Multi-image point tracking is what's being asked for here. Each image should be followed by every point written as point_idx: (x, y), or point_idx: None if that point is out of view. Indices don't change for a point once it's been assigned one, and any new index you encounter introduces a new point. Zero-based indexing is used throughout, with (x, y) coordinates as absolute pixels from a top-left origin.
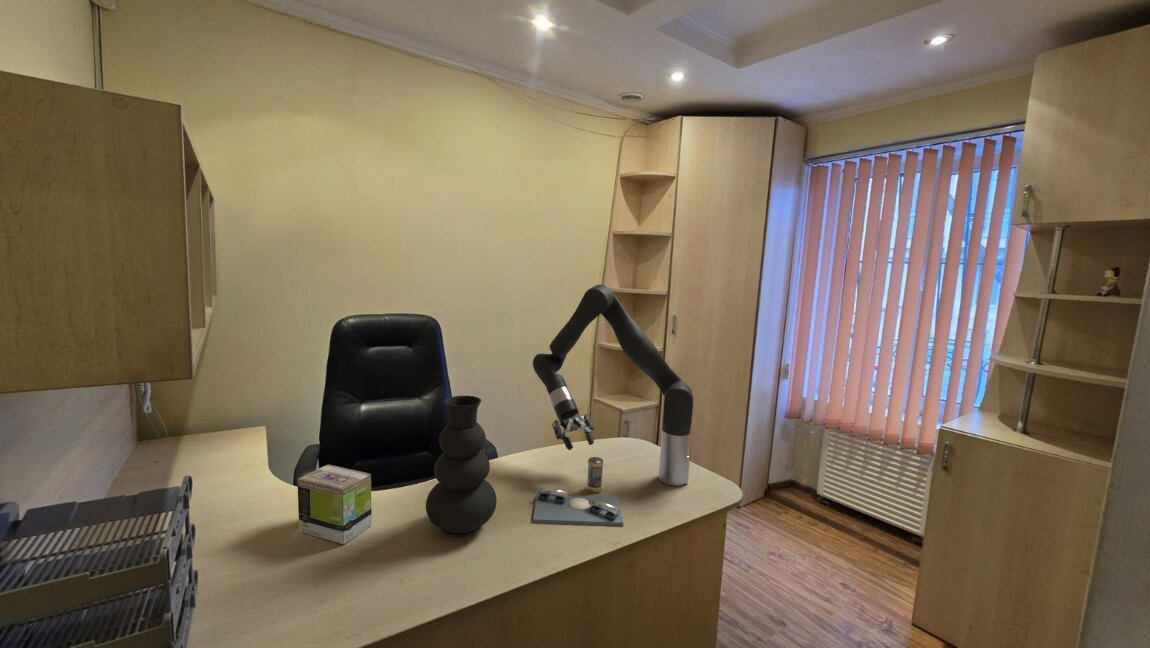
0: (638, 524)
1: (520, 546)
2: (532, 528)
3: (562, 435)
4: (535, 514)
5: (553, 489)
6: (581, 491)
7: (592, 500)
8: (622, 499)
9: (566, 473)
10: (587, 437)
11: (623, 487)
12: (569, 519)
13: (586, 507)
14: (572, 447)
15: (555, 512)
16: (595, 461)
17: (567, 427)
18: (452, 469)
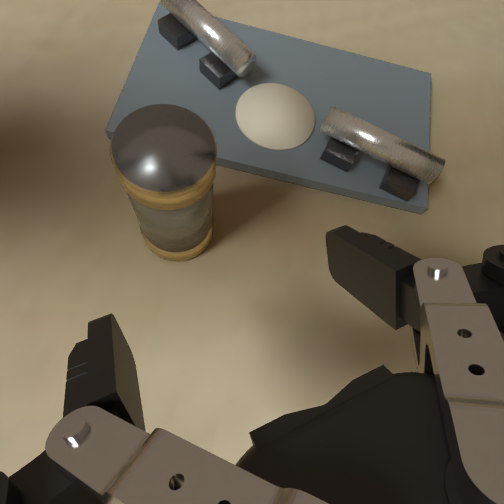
0: (108, 8)
1: (448, 9)
2: (424, 61)
3: (486, 253)
4: (425, 93)
5: (386, 136)
6: (238, 226)
7: (244, 44)
8: (87, 140)
9: (273, 418)
10: (134, 398)
11: (29, 228)
12: (323, 50)
13: (256, 88)
14: (330, 232)
15: (363, 89)
16: (173, 127)
17: (486, 319)
18: None
